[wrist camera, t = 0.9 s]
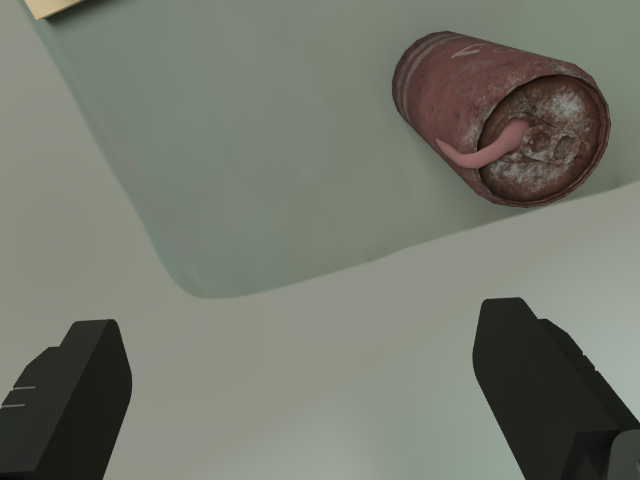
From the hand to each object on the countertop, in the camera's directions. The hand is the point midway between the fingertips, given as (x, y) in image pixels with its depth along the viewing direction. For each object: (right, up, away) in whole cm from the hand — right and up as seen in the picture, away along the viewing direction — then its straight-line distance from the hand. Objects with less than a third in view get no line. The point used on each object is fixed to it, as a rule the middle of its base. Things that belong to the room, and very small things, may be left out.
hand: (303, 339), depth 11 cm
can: (+8, +12, +21) cm, 25 cm away
